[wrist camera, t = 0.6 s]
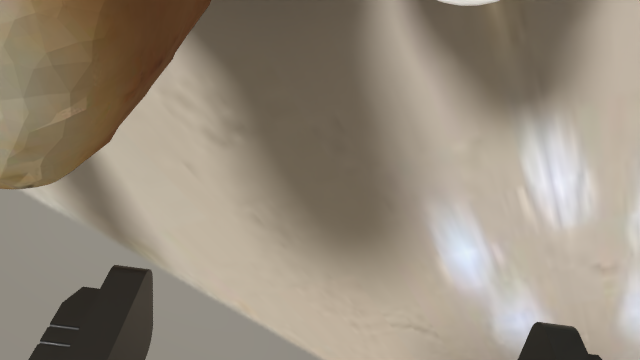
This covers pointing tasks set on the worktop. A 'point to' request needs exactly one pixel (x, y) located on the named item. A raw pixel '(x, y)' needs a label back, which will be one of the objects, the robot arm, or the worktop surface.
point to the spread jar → (468, 2)
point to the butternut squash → (77, 76)
